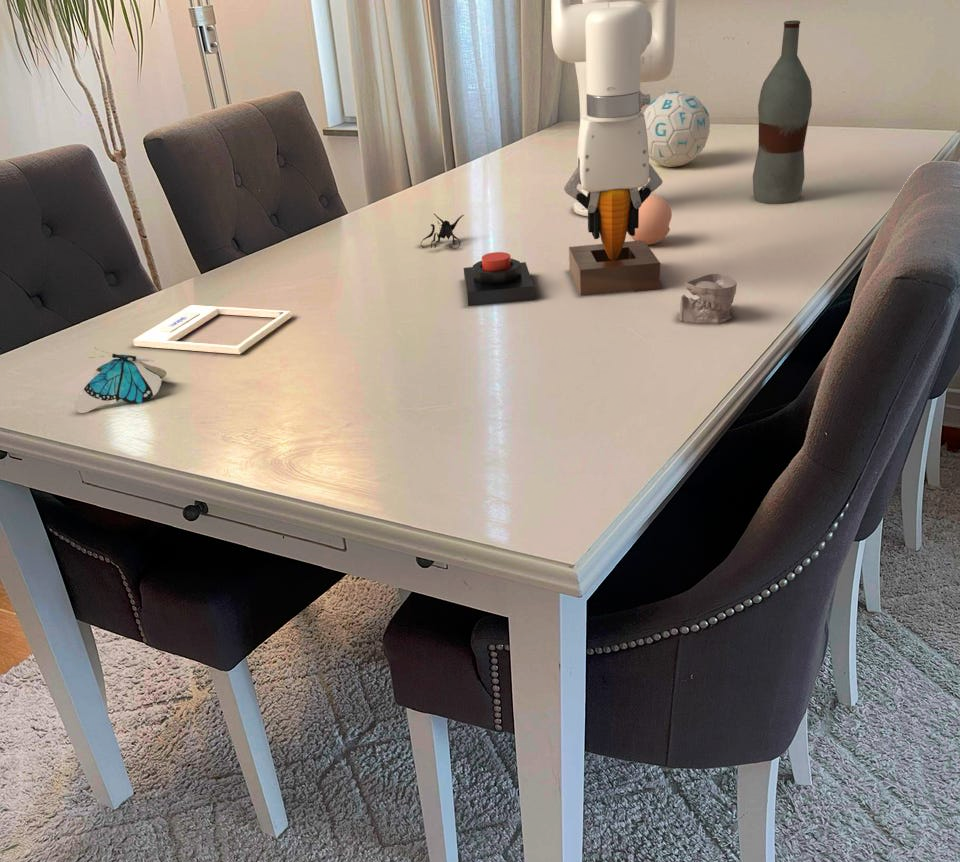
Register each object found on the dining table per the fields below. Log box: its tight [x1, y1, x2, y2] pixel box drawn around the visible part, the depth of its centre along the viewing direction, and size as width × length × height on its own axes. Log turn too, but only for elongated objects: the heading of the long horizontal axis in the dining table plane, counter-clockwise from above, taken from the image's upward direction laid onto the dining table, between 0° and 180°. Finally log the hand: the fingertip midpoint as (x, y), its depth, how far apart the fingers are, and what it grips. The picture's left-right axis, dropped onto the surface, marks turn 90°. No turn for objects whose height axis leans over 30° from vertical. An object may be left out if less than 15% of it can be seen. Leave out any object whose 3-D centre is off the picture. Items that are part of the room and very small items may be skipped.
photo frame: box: [132, 304, 292, 355], centre depth 141 cm, size 15×1×18 cm
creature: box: [420, 213, 465, 250], centre depth 170 cm, size 8×5×8 cm
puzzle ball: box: [642, 90, 711, 168], centre depth 205 cm, size 15×15×15 cm
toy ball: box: [626, 194, 673, 245], centre depth 161 cm, size 8×8×8 cm
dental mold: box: [679, 273, 738, 325], centre depth 131 cm, size 8×7×5 cm
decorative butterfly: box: [74, 347, 168, 414], centre depth 124 cm, size 10×6×10 cm
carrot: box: [597, 189, 630, 261], centre depth 143 cm, size 5×5×15 cm
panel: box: [463, 258, 535, 307], centre depth 147 cm, size 12×10×4 cm
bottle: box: [752, 19, 813, 205], centre depth 173 cm, size 9×9×30 cm
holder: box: [568, 240, 661, 297], centre depth 147 cm, size 12×12×4 cm
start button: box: [481, 251, 512, 271], centre depth 146 cm, size 4×4×2 cm
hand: (613, 233), depth 144 cm, fingers closed on carrot, 4 cm apart
